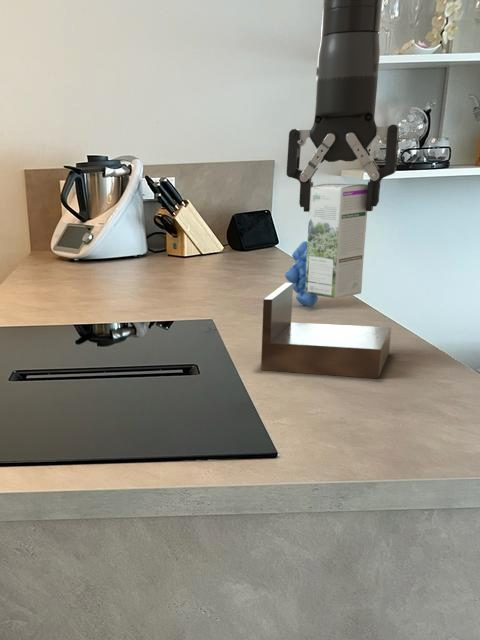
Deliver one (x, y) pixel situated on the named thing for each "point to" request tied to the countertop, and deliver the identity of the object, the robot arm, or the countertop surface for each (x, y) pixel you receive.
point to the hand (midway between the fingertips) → (337, 210)
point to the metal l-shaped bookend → (319, 343)
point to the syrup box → (336, 239)
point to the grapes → (300, 276)
